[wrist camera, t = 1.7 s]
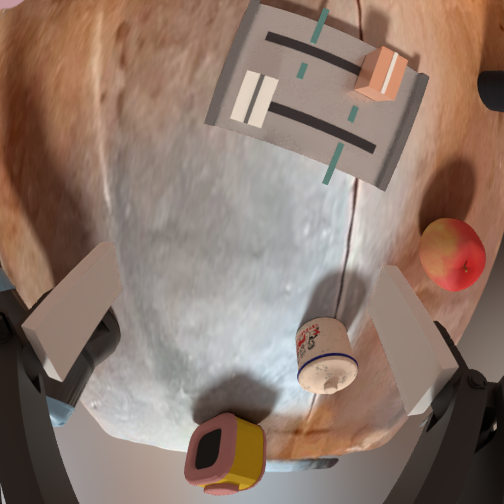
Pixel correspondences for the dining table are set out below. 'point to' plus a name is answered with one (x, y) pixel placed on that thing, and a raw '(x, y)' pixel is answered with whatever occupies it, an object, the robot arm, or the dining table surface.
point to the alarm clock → (226, 455)
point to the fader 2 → (381, 74)
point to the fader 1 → (254, 98)
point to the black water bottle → (492, 89)
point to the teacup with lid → (324, 356)
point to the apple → (452, 254)
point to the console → (317, 94)
